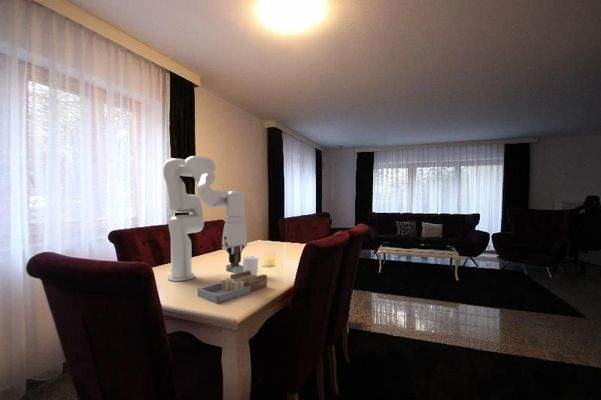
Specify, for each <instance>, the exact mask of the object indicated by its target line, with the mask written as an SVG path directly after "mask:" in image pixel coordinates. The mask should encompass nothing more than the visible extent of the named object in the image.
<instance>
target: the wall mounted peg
mask: <svg viewBox="0 0 601 400" xmlns="http://www.w3.org/2000/svg"><path fill="white" fill-rule="evenodd" d="M234 254H235V263H230V264H226V265H225V271H226V272H229V273H232V274H237V273H241V272H244V266H243V264H242V265H241V264H240V262H239V246H235V247H234Z"/></svg>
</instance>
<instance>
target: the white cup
mask: <svg viewBox="0 0 601 400" xmlns="http://www.w3.org/2000/svg"><path fill="white" fill-rule="evenodd" d="M241 260H242V266H244V271H251V274H252V275H256V276H258V271H259V270H258V269H259V267H258V266H259V256H256V255H249V256H243V257H241Z"/></svg>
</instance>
